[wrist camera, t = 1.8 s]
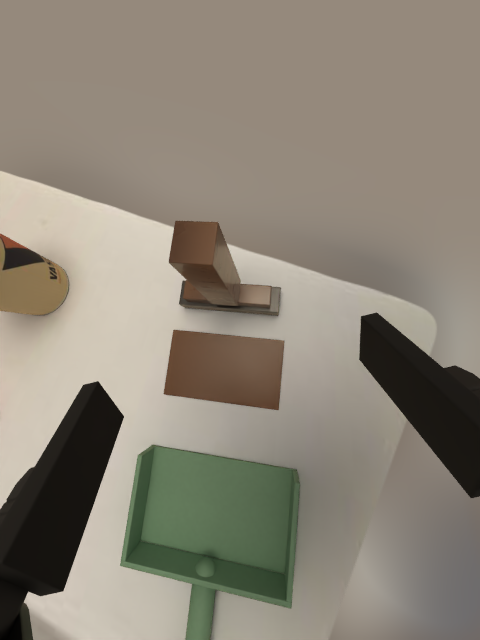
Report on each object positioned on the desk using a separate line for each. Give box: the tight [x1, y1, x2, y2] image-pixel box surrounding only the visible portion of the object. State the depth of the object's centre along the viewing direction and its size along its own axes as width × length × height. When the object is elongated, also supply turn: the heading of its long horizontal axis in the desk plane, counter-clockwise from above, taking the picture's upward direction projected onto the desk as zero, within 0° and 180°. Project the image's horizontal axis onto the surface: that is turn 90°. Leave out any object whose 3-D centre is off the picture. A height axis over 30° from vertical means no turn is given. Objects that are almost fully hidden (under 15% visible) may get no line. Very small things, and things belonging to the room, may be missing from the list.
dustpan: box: [120, 445, 300, 640], centre depth 25 cm, size 22×17×3 cm
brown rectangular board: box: [164, 330, 284, 410], centre depth 30 cm, size 14×8×1 cm, turn 84°
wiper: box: [169, 221, 281, 316], centre depth 24 cm, size 12×3×16 cm, turn 84°
